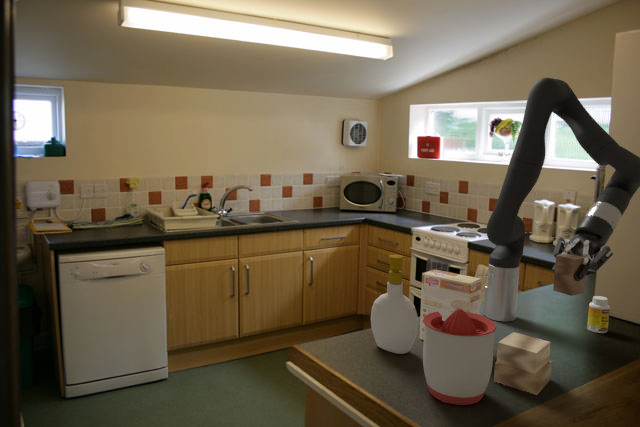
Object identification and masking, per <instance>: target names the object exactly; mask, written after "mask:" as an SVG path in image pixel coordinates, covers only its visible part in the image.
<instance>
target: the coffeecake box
mask: <svg viewBox="0 0 640 427" xmlns="http://www.w3.org/2000/svg"><path fill="white" fill-rule="evenodd" d="M482 279H483V278H480V277H475V276H469V275H465V274H460V273H456V272H455V273H454V272H451V271H444V270H439V269H430V270H428V271H425V272H422V274H421V292H420V296H421V297H420V315H419V316H420V320H419V321H420V322H419V340H422V341H424V322H423V319H424V317H425V316H426V315H428V314H430V313H433V312H439V313H440V314H441V315H442V320H443V321H445V320H446V319H447V318H448V317H449V316H450V315H451V314H452V313H453V312H454V311H456V310H457V309H462V310H463V311H464V312H470V313H474V314H478V315H481V305H482V303H481V302H482V287H483V286H482V285H483V284H482V283H483V280H482Z"/></svg>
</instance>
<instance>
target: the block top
mask: <svg viewBox="0 0 640 427" xmlns="http://www.w3.org/2000/svg"><path fill="white" fill-rule="evenodd" d="M551 344H552V342H551V341H548V340H545V339H541V338H537V337H533V336H530V335H526V334H522V333H519V332H515V331H514V332H512V333H510V334H508V335H506V336H505V337H504V338H502V339H501V340H499V341H498V342H497V350H496V362H497V363H500V364H503V365H507V366H510V367H513V368H517V369H520V370H523V371H526V372H530V373H533V374H536V373H537V372H538V371H539V370H540V369H541V368H543V367H544V366H545V365H546V364H547V363H548V362H549V361H550V354H551Z"/></svg>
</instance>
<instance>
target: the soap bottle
mask: <svg viewBox="0 0 640 427" xmlns="http://www.w3.org/2000/svg"><path fill="white" fill-rule="evenodd" d="M388 259H389V267H390V270H389V271H388V281H387V283H386V284H387V286H386V293H383V294H380V295H379V296H378V297H377V298H376V299H375V300H374V301H373V305H372V307H371V313H370V325H371V331H372V335H373V337H374V341H375V343H376V345H377V347H379V348H380V349H382V350H383V351H387V352H390V353H392V354H398V355H404V354H407V353H409V352H410V351H411V349H412V348H413V346H414V343H415V341H416V339H417V335H418V330H419V324H418V323H419V322H418V321H419V320H418V313H417V309H416V306H415V304H414V303H413V302H412V300H411V299H409V298H408V297H407V296H406V295H404V294H403V292H404V291H403V289H404V283H403V271H401V269H402V265H403V261H404V260H403V259H408V257H407V256H403V255H400V254H389V256H388Z"/></svg>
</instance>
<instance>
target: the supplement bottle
mask: <svg viewBox="0 0 640 427" xmlns="http://www.w3.org/2000/svg"><path fill="white" fill-rule="evenodd" d="M608 303H609V298H607V297H606V296H602V295H601V296H600V295H595V296H594V295H593V296H592V301H591V302H589V305H588V315H587V323H586V324H587V325H586V328H587V330H588V331H589V332H592V333H596V334H605V333H607V332H608V330H609V320H610V312H611V306H610V305H609V304H608Z"/></svg>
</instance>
